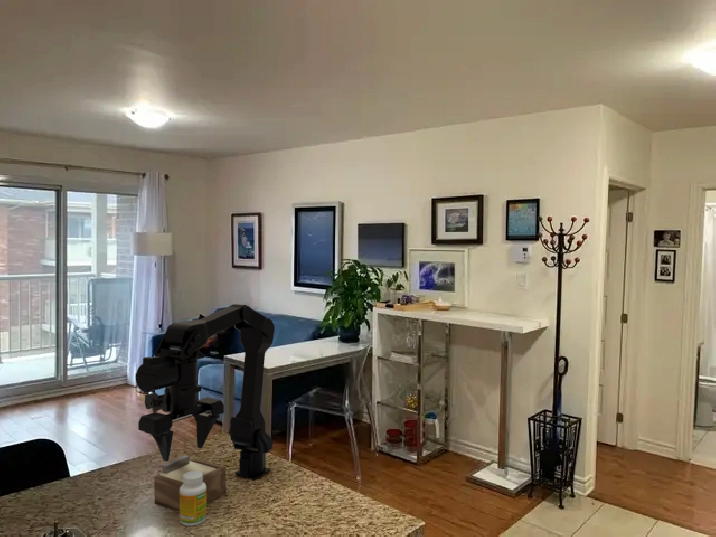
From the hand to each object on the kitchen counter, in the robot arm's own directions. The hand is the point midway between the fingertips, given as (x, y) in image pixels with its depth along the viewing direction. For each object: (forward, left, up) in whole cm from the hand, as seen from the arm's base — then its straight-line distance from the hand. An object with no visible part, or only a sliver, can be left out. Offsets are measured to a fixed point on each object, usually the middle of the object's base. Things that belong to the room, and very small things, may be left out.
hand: (183, 454), depth 119 cm
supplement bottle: (+1, +4, -13) cm, 14 cm away
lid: (-6, -4, -8) cm, 10 cm away
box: (-6, -4, -13) cm, 14 cm away
